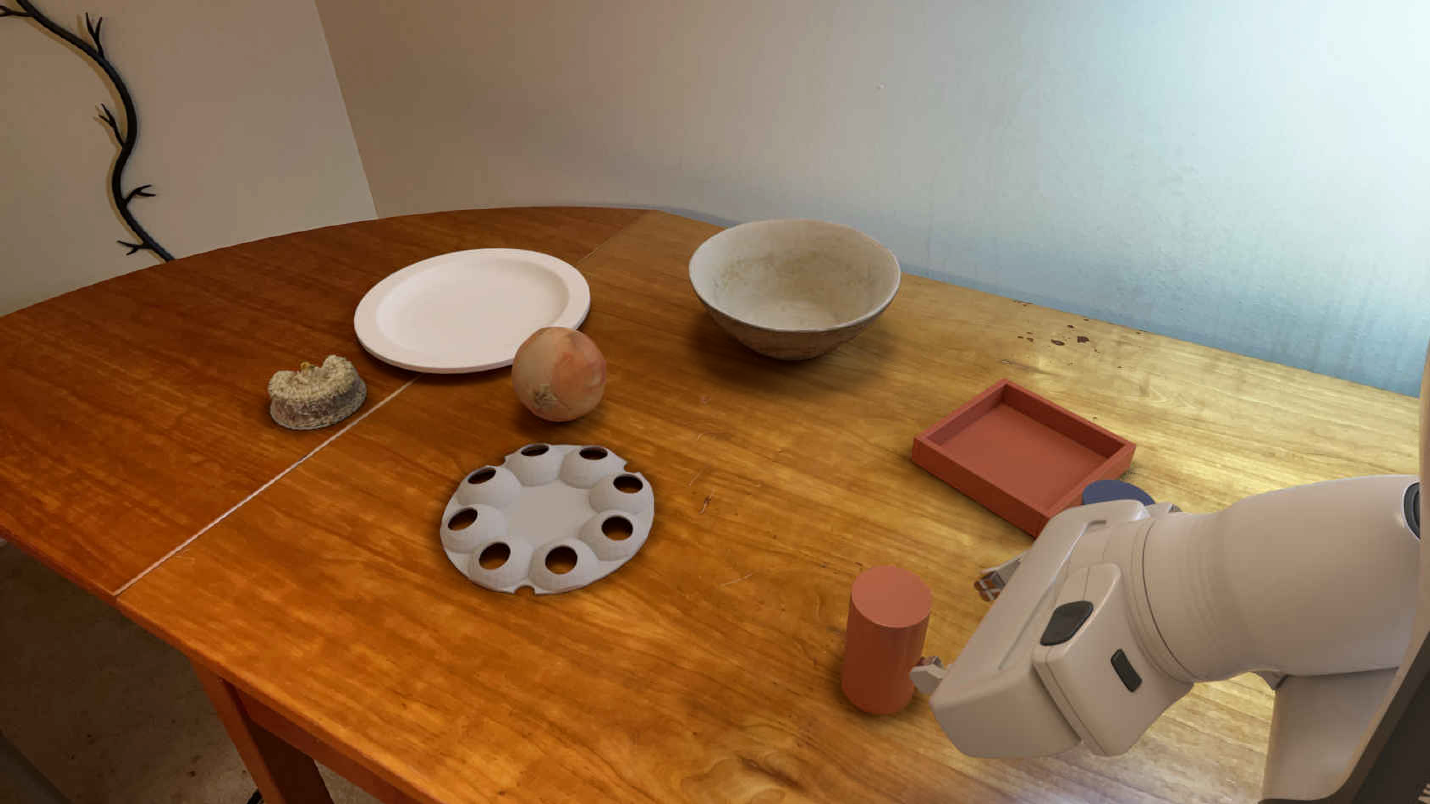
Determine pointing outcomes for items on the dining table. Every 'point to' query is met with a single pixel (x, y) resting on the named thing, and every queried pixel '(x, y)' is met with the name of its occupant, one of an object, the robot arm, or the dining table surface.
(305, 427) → the cake
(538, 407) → the onion
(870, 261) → the bowl
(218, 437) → the dining table surface
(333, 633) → the dining table surface
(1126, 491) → the slate-blue canister
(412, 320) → the plate
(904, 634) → the terracotta canister
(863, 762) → the dining table surface
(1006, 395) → the rust tray
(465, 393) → the dining table surface
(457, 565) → the grey disc with holes
